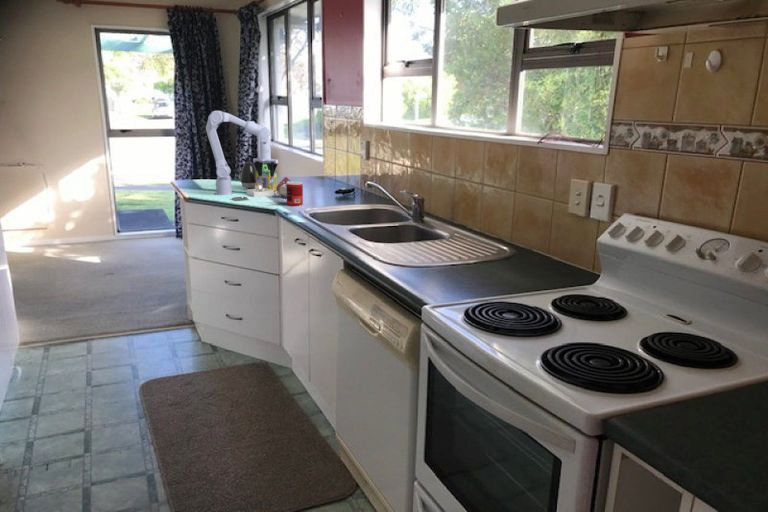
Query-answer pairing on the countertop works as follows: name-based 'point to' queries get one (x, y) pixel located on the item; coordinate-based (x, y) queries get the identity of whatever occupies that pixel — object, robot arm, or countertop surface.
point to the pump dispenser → (248, 175)
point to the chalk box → (267, 179)
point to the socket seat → (239, 199)
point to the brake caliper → (282, 188)
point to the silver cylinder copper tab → (258, 187)
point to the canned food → (294, 193)
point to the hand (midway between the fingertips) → (266, 176)
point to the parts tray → (258, 194)
